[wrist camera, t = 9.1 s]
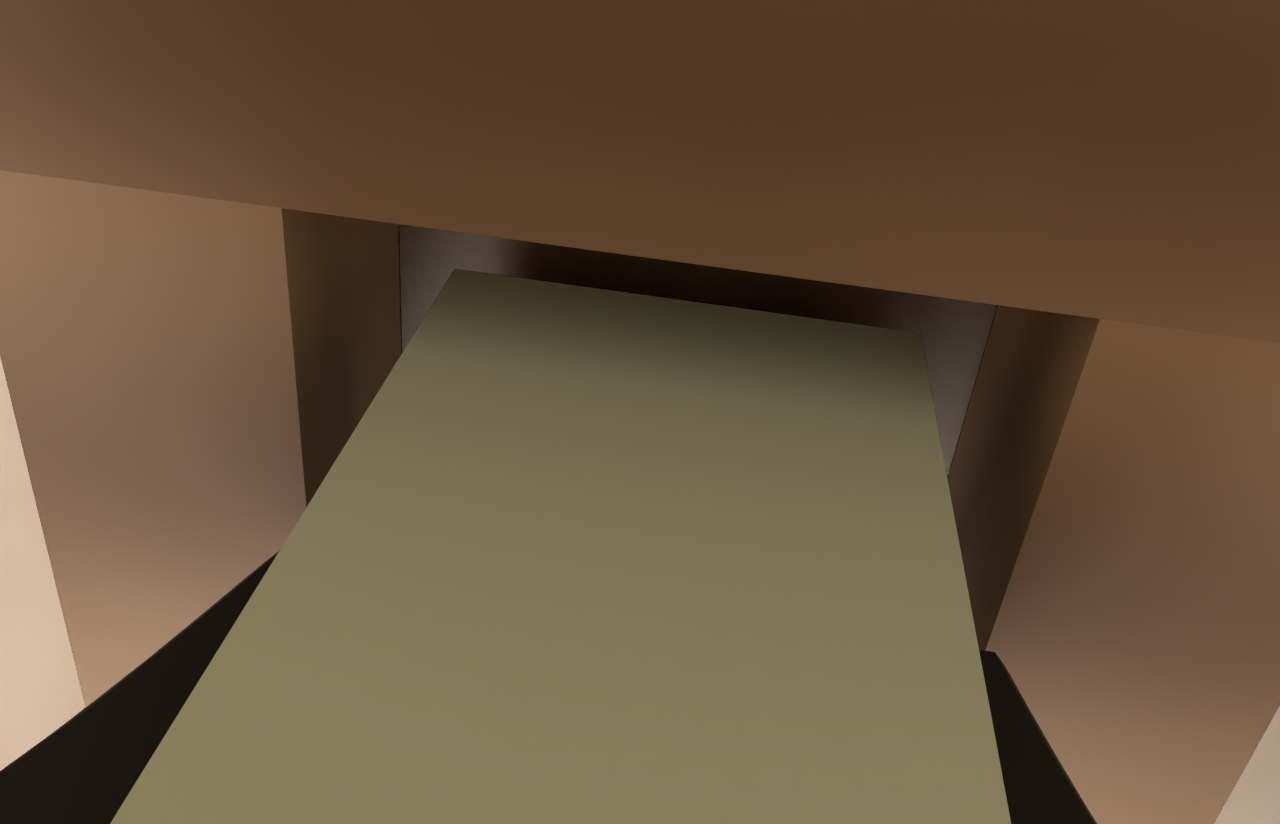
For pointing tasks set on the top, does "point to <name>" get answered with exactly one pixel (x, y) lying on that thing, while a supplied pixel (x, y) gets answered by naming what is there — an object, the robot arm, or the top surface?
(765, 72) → the walnut collar
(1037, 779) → the robot arm
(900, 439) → the sage peg
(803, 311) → the top surface
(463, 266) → the top surface
